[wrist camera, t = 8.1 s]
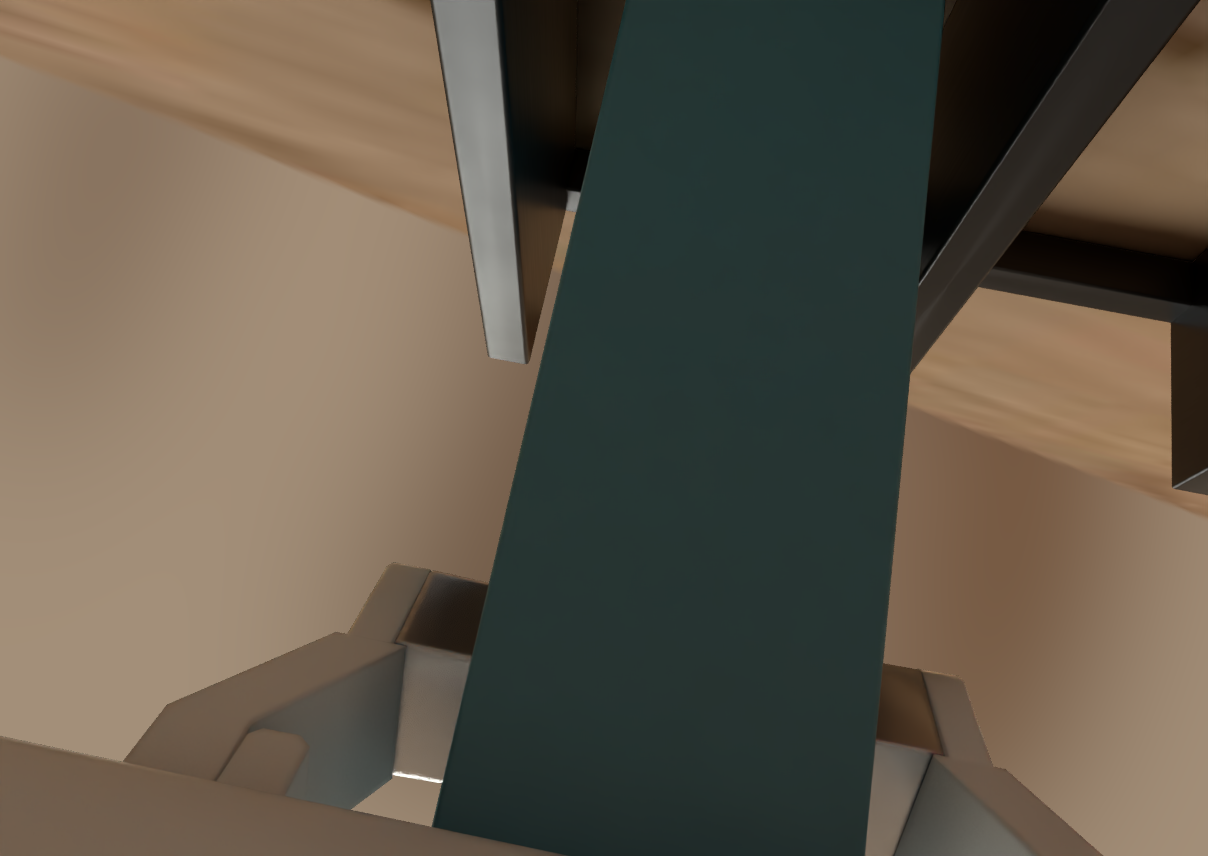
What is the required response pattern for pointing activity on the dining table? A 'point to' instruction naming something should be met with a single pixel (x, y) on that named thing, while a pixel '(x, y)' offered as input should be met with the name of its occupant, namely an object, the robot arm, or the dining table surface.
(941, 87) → the rack
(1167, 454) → the dining table surface
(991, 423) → the dining table surface
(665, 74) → the book
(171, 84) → the dining table surface
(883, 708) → the robot arm
